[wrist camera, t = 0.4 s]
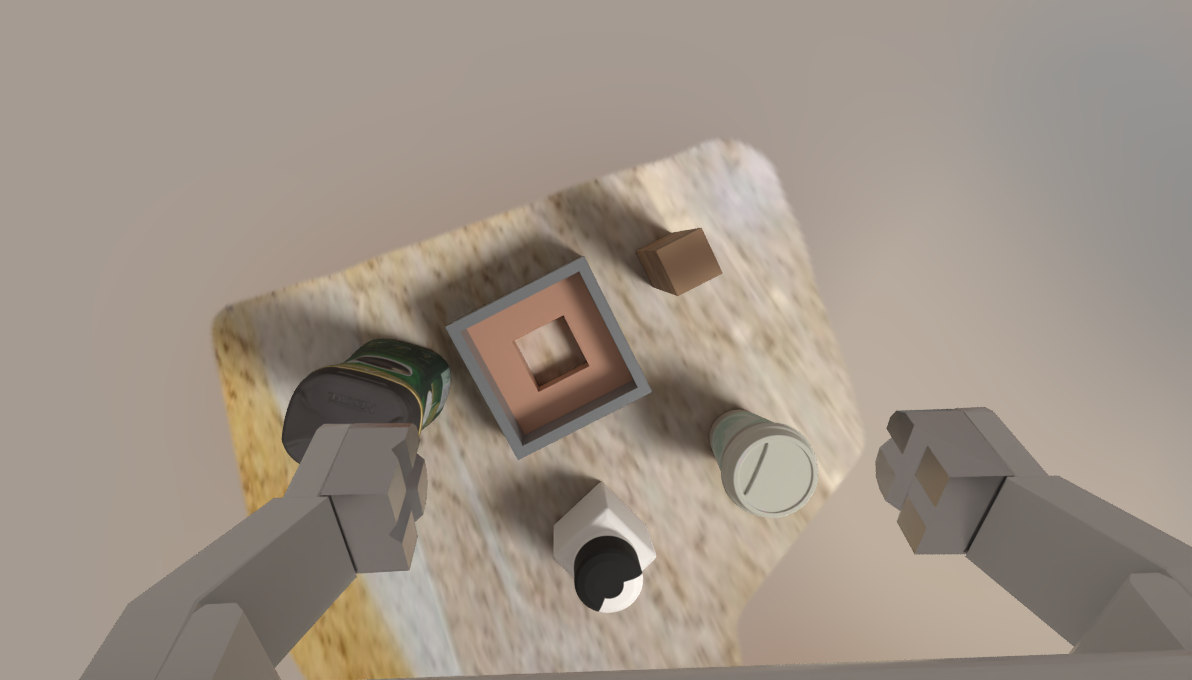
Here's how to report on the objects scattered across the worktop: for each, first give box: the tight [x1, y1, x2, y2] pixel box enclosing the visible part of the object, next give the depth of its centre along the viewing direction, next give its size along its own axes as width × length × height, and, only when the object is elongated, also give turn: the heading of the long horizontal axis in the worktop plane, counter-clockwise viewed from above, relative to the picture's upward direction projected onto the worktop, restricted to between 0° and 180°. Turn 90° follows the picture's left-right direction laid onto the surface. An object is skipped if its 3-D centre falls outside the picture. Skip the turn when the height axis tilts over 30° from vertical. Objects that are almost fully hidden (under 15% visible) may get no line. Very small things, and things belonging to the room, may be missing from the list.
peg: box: [636, 228, 722, 296], centre depth 56 cm, size 4×4×13 cm
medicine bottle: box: [553, 482, 656, 613], centre depth 60 cm, size 7×7×12 cm
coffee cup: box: [709, 409, 818, 518], centre depth 59 cm, size 8×8×12 cm
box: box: [445, 256, 652, 460], centre depth 60 cm, size 14×14×6 cm
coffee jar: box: [282, 339, 451, 464], centre depth 53 cm, size 10×8×19 cm
